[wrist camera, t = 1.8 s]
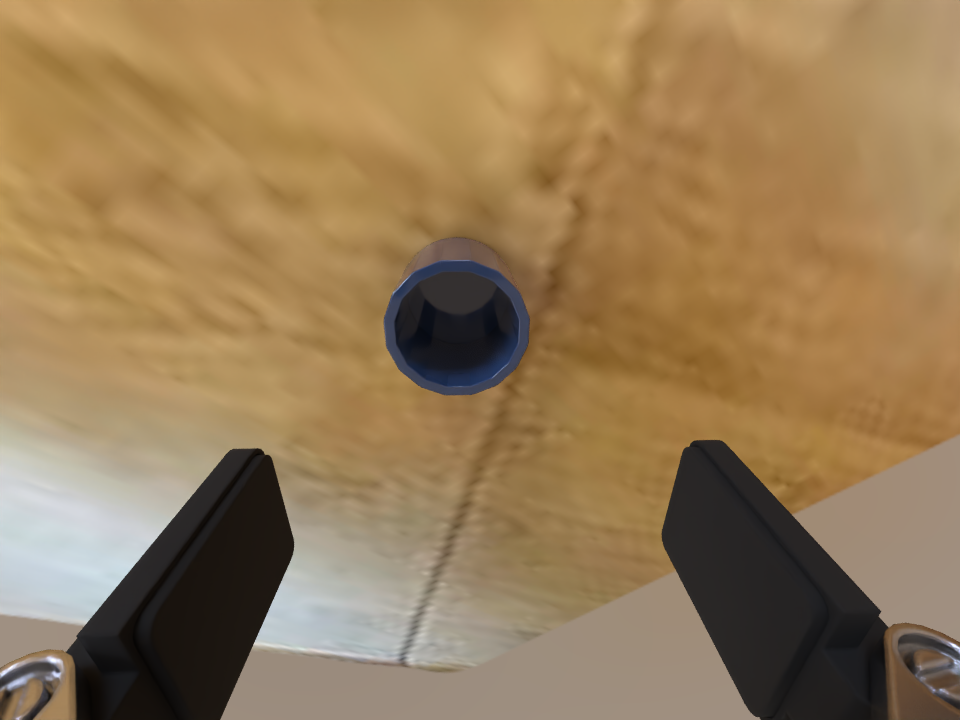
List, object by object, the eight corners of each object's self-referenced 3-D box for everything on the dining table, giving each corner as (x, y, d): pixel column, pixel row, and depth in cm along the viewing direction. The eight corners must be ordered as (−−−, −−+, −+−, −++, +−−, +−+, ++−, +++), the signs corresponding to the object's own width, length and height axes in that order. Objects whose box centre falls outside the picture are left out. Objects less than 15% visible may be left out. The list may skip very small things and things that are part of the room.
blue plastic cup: (405, 347, 26) (391, 397, 20) (396, 237, 23) (377, 260, 17) (511, 345, 26) (525, 394, 20) (515, 236, 23) (533, 259, 18)
